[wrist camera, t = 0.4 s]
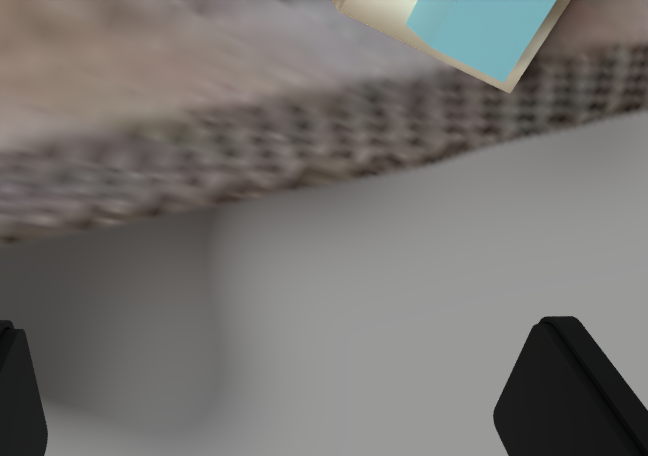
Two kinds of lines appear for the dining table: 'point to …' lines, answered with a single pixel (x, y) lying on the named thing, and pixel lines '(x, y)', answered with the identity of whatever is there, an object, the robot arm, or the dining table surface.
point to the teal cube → (480, 30)
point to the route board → (390, 18)
